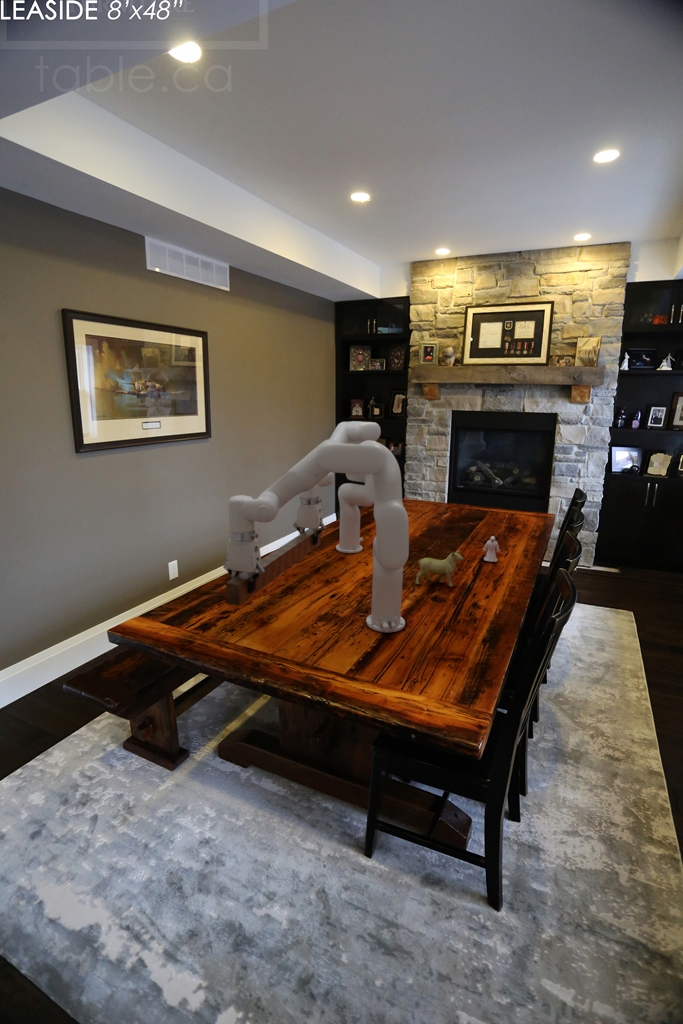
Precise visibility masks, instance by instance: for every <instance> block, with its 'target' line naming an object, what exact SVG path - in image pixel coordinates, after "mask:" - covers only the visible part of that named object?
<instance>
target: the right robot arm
mask: <svg viewBox="0 0 683 1024" xmlns="http://www.w3.org/2000/svg"><path fill="white" fill-rule="evenodd" d="M331 472H333V473H338V474H346V473H352V474H372V476H373V486H374V503H373V518H374V521H375V531H376V532H375V536H374V538H373V541H372V585H371V586H372V587H371V607H370V609H371V613H370V615H368V616H367V617H366V621H365V622H366V623H365V624H366V625H367V627H368V628H369V629H372V630H373V631H376V632H379V633H396V632H398V631H402V630H403V629H404V628H405V626H406V620H405V618H403V617H402V615H401V614H402V599H403V598H402V597H403V580H404V566H405V564H406V563H407V562H408V559H409V554H410V525H409V516H408V515H409V514H408V512H407V510H406V508H405V506H404V504H403V487H402V474H401V469H400V466H399V463H398V460H397V459H396V457H395V455H394V454H393V452H391V450H390V449H389V448H388V447H386V446H385V445H383V444H382V443H380V442H378V441H372V440H367V441H364V442H362V443H360V444H345V443H340V442H338V441H337V440H334V439H330V438H327V439H325V440H323V441H322V442H321V443H319V444H318V445H317V446H316V447H315V448H313V449H312V450H311V451H310V452H309V453H307V454H306V455H305V456H304V457H303V458H302V459H300V460H299V461H298V462H297V463H296V464H294V465H293V466H292V467H291V468H289V470H287V471H286V473H285V474H283V475H282V476H281V477H280V478H278V479H277V480H276V481H275V482H273V483H272V484H271V485H270V486H269V487H268V488H266V489H265V490H264V491H263V492H262V493H260V494H259V495H258V497H257V498H252V496H250V495H245V494H237V495H233V496H230V498H229V499H228V503H227V504H228V523H229V526H228V527H229V539H228V540H227V548H226V561H225V563H224V564H223V566H222V568H223V569H224V570H225V571H227V573H228V574H229V576H230V578H231V579H233V578H234V577H236V576H237V575H239V574H240V573H242V572H248V576H249V580H250V581H249V582H248V591H249V593H252V592H253V591H255V589H256V579H257V578H258V577H259V576H260V575H261V574H263V573H264V572H265V570H264V568H263V567H262V565H261V560H262V556H261V555H262V554H261V549H260V545H259V541H258V540H259V539H258V538H259V533H256V530H255V522H259V523H270V522H272V521H274V520H275V519H276V517H277V515H278V513H279V511H280V509H281V508H282V507H284V506H285V505H286V504H287V503H288V502H290V501H291V500H292V499H294V498H295V497H296V496H298V495H300V493H302V492H306V491H308V490H310V489H311V488H313V487H314V486H315V485H316V484H317V483H318V482H320V481H321V480H322V479H323V478H324V477H326V476H327V475H328V474H329V473H331ZM255 569H258V572H257V573H256V570H255Z"/></svg>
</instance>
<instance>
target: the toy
mask: <svg viewBox="0 0 683 1024" xmlns="http://www.w3.org/2000/svg"><path fill="white" fill-rule="evenodd" d="M461 553H462V550H457V551H454V552H451V553H449V554H448V556H447V557H446V558H445V559H437V558H433V557H424V558H421V559H419V560H418V568H419V572H416V573H417V574H416V578H415V582H414V583H415V585H416V586H420V578H421V577H422V576H423V577H425V578H426V581H427V582H431V577H430V576H429V575H428V573H430V574H431V575H434V576H440V575H441V576H440V579H439V583H440V584H444V578H446V581H447V584H448V587H449V588H454V585H453V584H452V582H451V580H452V579H451V577H452V575H453V573H454V572H455V570H456V567H457V562H458V561H459V562H463V561H464V560H465V558H464V557H463V556H462V555H460V554H461Z"/></svg>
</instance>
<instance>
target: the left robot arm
mask: <svg viewBox="0 0 683 1024" xmlns="http://www.w3.org/2000/svg"><path fill="white" fill-rule="evenodd" d="M381 433H382V431H381V427H380V425H379V424H378V423H377V422H375V421H374V422H373V421H361V420H360V421H359V420H357V421H356V420H352V421H341V422H340V423H338V424H337V426H336V427H335V429H334V430H333V432H332V433H331V436H330V437H329V439H334V440H337V441H338V442H340V443H345V444H360V443H362V442H364V441H367V440H372V441H375V442H377V441H378V439H380V436H381ZM334 473H335V472H331V473H329V474H328V475H327V476H326V477H324V478H323V479H322V480H321V481H320V482H318V483H317V484H316V485H315V486H314V487H313V488H311V489H310V490H308V491H306V492H302V493H300V494H299V503H298V505H297V510H296V520H295V521H294V522H293V524H292V526H293V528H294V529H296V531H297V532H298V535H300V534H301V533H303V532H305V531H306V529H313V532H314V536H313V545H316V544H317V543H318V534H320V533H322V532H324V531H325V530H327V527H326V525H325V524H324V521H323V520H324V519H323V518H324V517H323V510H322V509H323V508H322V505H321V504H322V498H320V496H319V488H320V487H321V488H322V487H329V486H331V485H332V484H333V482H334V480H335V474H334ZM345 477H346V479H347V480H348V481H353V482H359V483H364V484H358V483H351V482H348V483H343V484H341V485H340V486H339V487H338V491H337V496H338V502H339V542H338V543H339V544H336V546H335V550H336V551H337V552H339V553H343V554H357V553H361V552H362V551H363V548H364V547H363V546H362V545H361V542H364V538H363V537H360V536H361V511H360V508H359V507H372V506H373V505H374V486H373V476H372V474H352V473H345ZM318 528H321V529H318Z"/></svg>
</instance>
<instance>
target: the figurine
mask: <svg viewBox="0 0 683 1024" xmlns="http://www.w3.org/2000/svg"><path fill="white" fill-rule="evenodd" d="M482 551H483V552H486V554H485V556H484V557H483V560H484V561H485V562H495V563H498V558H497V554H496V553H498V554H499V553H501V550H500V547H499V543H498V541H497V540H496V538H495V536H493V535H492V536H490V539H489V540H487V542H486V543H485V544H484V546H483V548H482Z"/></svg>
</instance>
